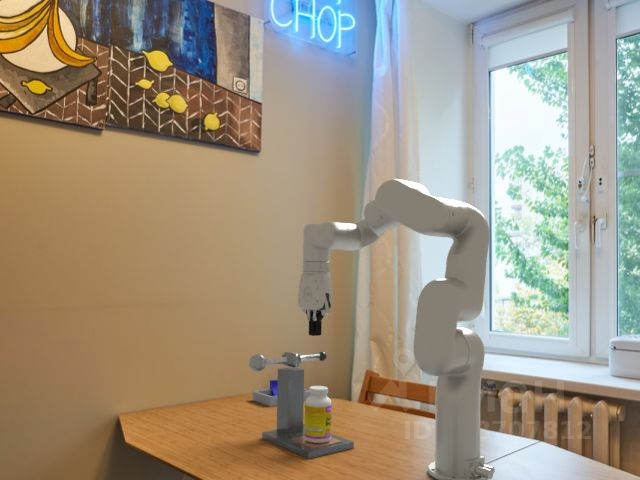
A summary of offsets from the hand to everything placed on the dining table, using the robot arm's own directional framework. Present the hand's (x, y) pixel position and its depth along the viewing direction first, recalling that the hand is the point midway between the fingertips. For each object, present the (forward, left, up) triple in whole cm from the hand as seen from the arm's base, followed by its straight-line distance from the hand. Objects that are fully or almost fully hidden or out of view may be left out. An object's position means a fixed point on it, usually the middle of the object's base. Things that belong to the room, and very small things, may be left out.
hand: (314, 335), depth 156 cm
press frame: (-8, +8, -26) cm, 28 cm away
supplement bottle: (-12, +8, -25) cm, 28 cm away
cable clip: (+35, -14, -26) cm, 46 cm away
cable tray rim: (+35, -14, -26) cm, 46 cm away
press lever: (0, +8, -8) cm, 12 cm away
